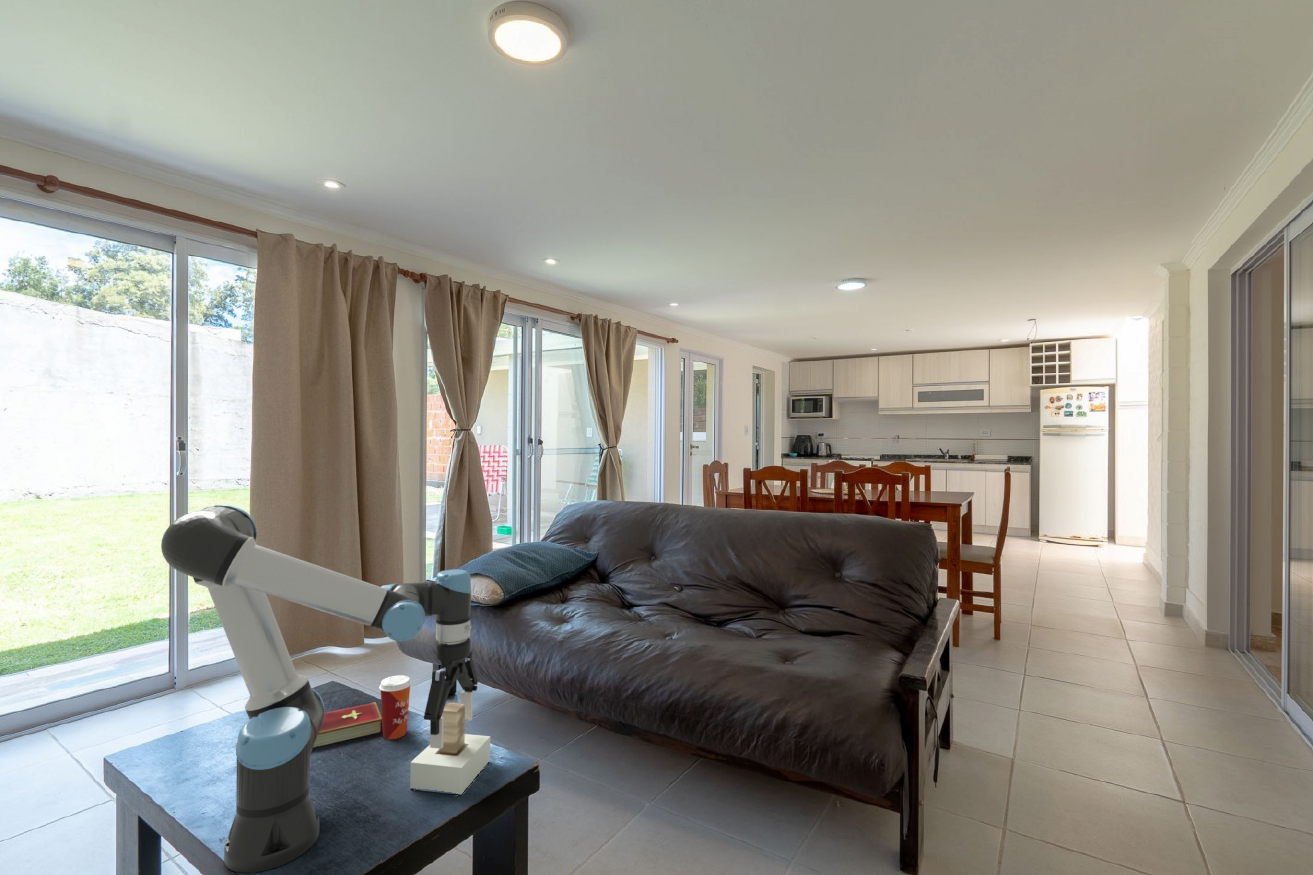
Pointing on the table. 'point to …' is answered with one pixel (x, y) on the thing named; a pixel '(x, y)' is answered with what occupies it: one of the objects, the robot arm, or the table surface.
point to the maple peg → (453, 729)
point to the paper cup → (395, 705)
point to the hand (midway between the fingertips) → (452, 732)
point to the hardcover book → (349, 724)
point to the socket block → (450, 766)
